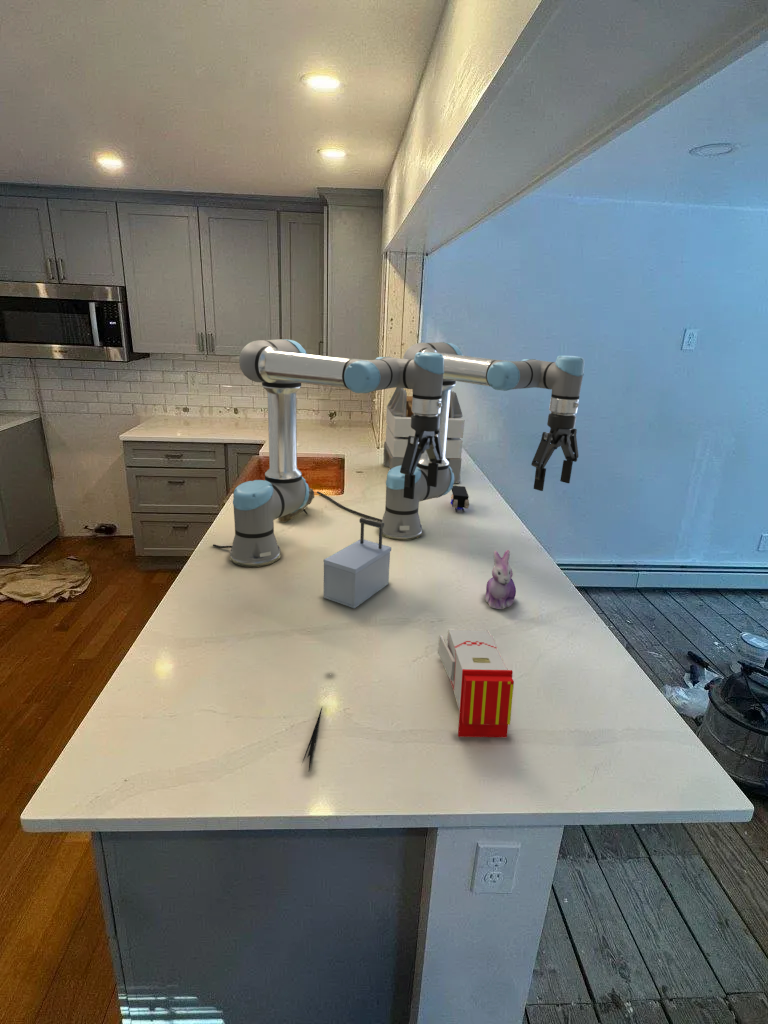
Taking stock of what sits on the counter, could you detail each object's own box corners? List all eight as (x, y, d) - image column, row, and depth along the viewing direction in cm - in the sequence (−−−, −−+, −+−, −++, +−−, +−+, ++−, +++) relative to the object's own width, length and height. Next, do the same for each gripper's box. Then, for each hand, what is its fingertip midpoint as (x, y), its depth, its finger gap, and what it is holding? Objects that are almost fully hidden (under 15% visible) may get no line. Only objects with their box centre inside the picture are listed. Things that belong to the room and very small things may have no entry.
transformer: (382, 463, 289) (386, 382, 275) (445, 464, 293) (451, 384, 279) (390, 482, 257) (394, 392, 243) (460, 483, 261) (468, 394, 247)
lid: (361, 542, 165) (361, 513, 162) (391, 551, 160) (392, 521, 157) (323, 563, 151) (323, 532, 148) (355, 573, 146) (356, 541, 143)
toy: (488, 613, 130) (523, 677, 101) (484, 667, 133) (517, 744, 104) (435, 612, 130) (455, 676, 101) (432, 666, 133) (451, 743, 103)
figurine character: (469, 517, 223) (463, 501, 236) (471, 500, 219) (465, 484, 233) (452, 516, 222) (447, 500, 236) (454, 499, 219) (449, 483, 232)
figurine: (497, 613, 149) (504, 562, 144) (474, 596, 158) (480, 547, 153) (525, 606, 154) (532, 556, 149) (501, 590, 162) (508, 542, 157)
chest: (359, 574, 168) (360, 543, 165) (388, 583, 163) (390, 551, 160) (323, 597, 154) (323, 564, 151) (354, 608, 149) (355, 574, 146)
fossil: (283, 493, 223) (312, 472, 218) (299, 511, 226) (328, 491, 221) (268, 517, 204) (299, 496, 199) (285, 537, 207) (316, 516, 202)
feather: (331, 679, 122) (336, 673, 122) (307, 777, 96) (313, 769, 95) (324, 675, 122) (329, 669, 121) (298, 772, 95) (304, 764, 95)
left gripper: (416, 422, 136) (410, 506, 143) (458, 410, 156) (452, 483, 163) (389, 418, 139) (385, 500, 146) (434, 406, 159) (428, 479, 167)
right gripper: (548, 419, 148) (537, 496, 155) (598, 411, 163) (586, 482, 171) (524, 414, 153) (515, 489, 160) (575, 407, 169) (564, 476, 176)
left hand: (420, 492), depth 155 cm, fingers open, 13 cm apart
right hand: (551, 486), depth 166 cm, fingers open, 13 cm apart
